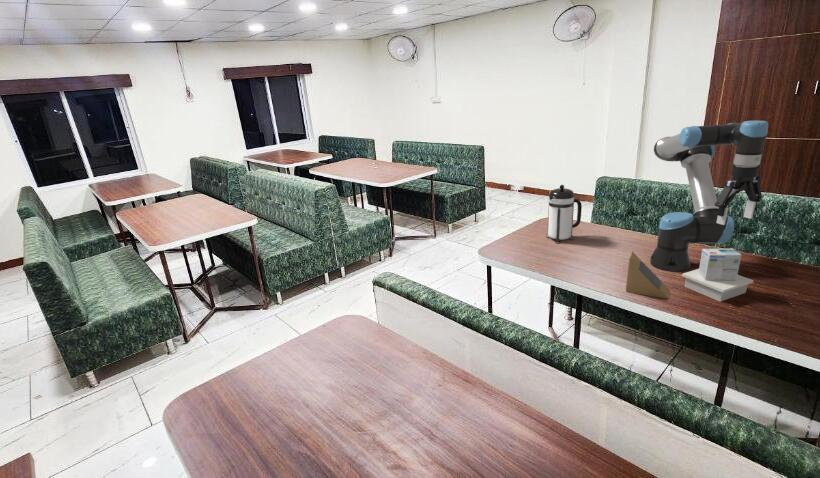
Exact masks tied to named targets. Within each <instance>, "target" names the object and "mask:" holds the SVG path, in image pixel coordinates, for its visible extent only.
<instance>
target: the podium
mask: <svg viewBox="0 0 820 478" xmlns="http://www.w3.org/2000/svg"><path fill="white" fill-rule="evenodd" d="M681 277H683V278H685V281H684V288H686V289H690V290H692V291H694V292H697V293H698V294H701V295H704V296H706V297H708V298H710V299H713V300H716V301H718V302H724V301H726V300H729V299H732V298H735V297H738V296H740V295H743V294H746V292H747V288H748V285H750V284H753V283H754V280H753V279H750V278H749V277H745V276H742V275H739V274H737V279H736V280H705V279H704V278H703V277H702V276H701V275H700V274H699V268H696V269H693V270H691V271H687V272H684V273H682V274H681Z"/></svg>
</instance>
